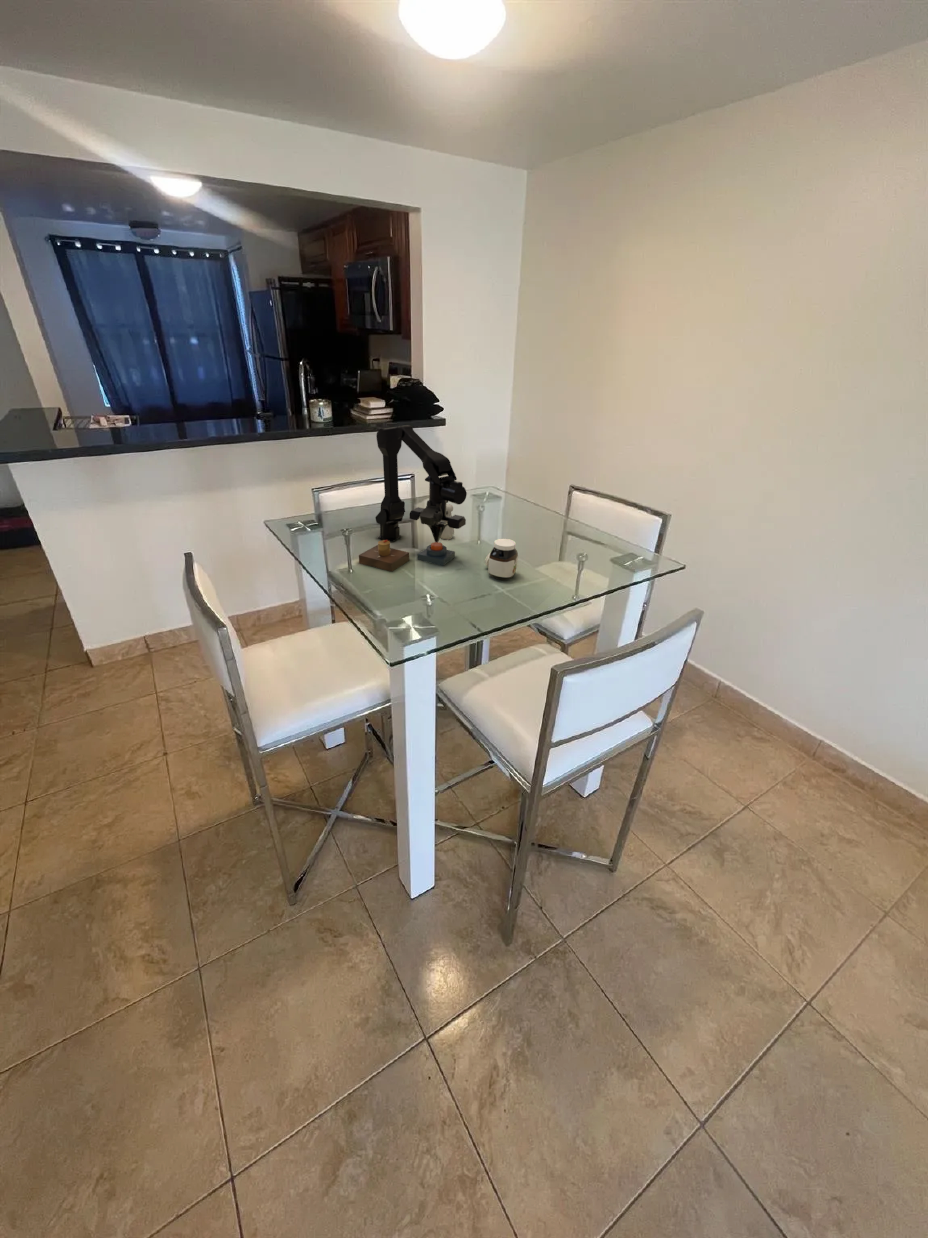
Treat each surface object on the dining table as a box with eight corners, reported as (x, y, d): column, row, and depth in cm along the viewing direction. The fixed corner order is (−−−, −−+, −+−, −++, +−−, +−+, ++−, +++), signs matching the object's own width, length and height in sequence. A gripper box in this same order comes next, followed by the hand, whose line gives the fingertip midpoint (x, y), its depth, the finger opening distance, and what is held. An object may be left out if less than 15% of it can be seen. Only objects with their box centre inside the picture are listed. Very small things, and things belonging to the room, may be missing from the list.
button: (428, 549, 175) (428, 544, 174) (434, 545, 178) (434, 541, 178) (438, 551, 174) (439, 547, 173) (444, 548, 177) (444, 543, 176)
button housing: (417, 559, 176) (417, 549, 174) (430, 551, 183) (430, 541, 181) (442, 566, 172) (443, 555, 171) (454, 557, 180) (455, 546, 178)
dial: (386, 556, 169) (385, 544, 167) (376, 554, 171) (375, 542, 169) (392, 552, 173) (392, 540, 170) (382, 550, 174) (382, 538, 172)
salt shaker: (451, 541, 193) (453, 507, 187) (437, 539, 194) (438, 506, 188) (455, 536, 198) (456, 503, 192) (440, 534, 199) (441, 501, 193)
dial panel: (359, 563, 171) (358, 554, 170) (377, 552, 180) (377, 544, 178) (391, 571, 166) (391, 562, 165) (409, 560, 175) (409, 551, 174)
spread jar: (505, 584, 162) (508, 549, 157) (474, 574, 167) (476, 541, 162) (521, 571, 171) (525, 539, 166) (492, 563, 176) (495, 531, 171)
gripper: (400, 498, 164) (401, 543, 172) (452, 508, 157) (450, 555, 165) (418, 490, 173) (417, 534, 181) (467, 499, 166) (465, 544, 174)
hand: (436, 541), depth 175 cm, fingers closed
